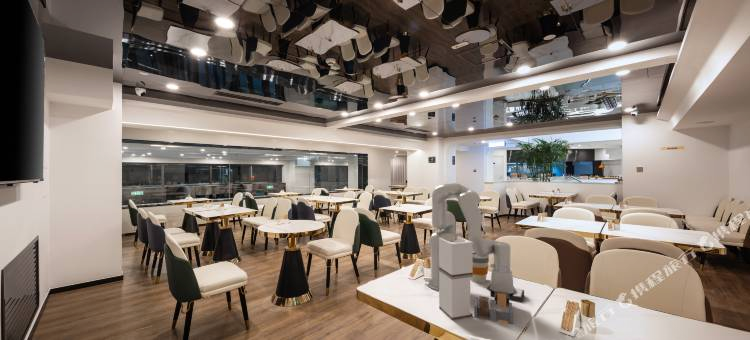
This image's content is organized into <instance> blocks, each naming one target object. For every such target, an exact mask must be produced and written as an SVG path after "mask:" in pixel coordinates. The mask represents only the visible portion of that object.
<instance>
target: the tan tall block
mask: <svg viewBox="0 0 750 340" xmlns="http://www.w3.org/2000/svg"><path fill="white" fill-rule="evenodd" d="M496 306H499V307H504V308H505V307H507V306H506V293H502V292H497V305H496Z"/></svg>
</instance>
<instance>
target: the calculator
mask: <svg viewBox="0 0 750 340" xmlns="http://www.w3.org/2000/svg"><path fill="white" fill-rule="evenodd" d="M515 289H516V291H517V294H515V295H513V296H512V297H510V299H509V301H513V302H518V303H523V302H524V299H525V290H524V289H522V288H518V287H517V288H515ZM489 292H490V291H489ZM506 296H507V294H506ZM490 298H495V296H494V295H493V294H492V293H491V292H490Z"/></svg>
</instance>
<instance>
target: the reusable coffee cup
mask: <svg viewBox="0 0 750 340" xmlns="http://www.w3.org/2000/svg"><path fill="white" fill-rule="evenodd" d="M472 256H473V280H470V282H472V283H476V284H483V283H486V281H487V274H488V272H489V262H490V258H489V255H488V256H486V257H480V256H478V255H477V254H476V253H475V252H472Z"/></svg>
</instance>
